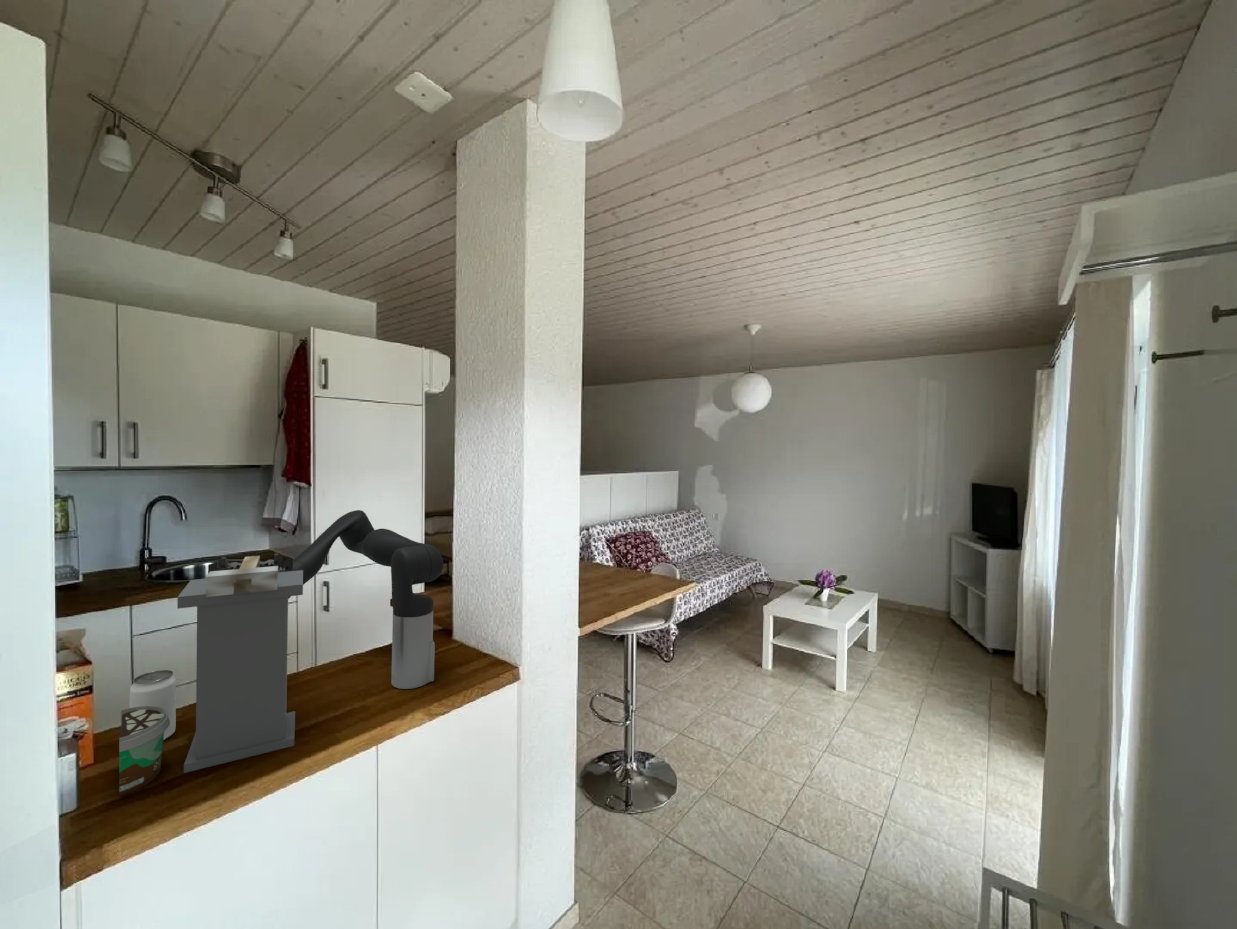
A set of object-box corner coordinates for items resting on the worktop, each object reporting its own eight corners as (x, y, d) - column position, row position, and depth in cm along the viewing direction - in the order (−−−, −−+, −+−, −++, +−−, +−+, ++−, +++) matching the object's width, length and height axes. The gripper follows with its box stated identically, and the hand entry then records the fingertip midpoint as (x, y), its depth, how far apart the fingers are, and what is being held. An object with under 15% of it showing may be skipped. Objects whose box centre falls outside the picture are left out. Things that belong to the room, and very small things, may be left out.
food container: (171, 784, 83) (171, 725, 82) (118, 801, 78) (119, 739, 78) (168, 750, 91) (168, 697, 91) (120, 764, 87) (121, 708, 87)
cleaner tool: (281, 565, 106) (281, 549, 106) (277, 589, 90) (277, 570, 90) (222, 570, 101) (222, 553, 101) (206, 597, 84) (206, 576, 84)
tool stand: (300, 714, 104) (303, 570, 104) (300, 744, 94) (302, 584, 93) (189, 739, 95) (191, 579, 94) (176, 775, 85) (177, 597, 84)
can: (147, 750, 91) (147, 686, 91) (120, 744, 92) (120, 681, 92) (184, 730, 97) (184, 671, 97) (158, 726, 99) (158, 667, 98)
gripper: (292, 594, 113) (292, 574, 101) (213, 603, 106) (202, 582, 94) (293, 563, 116) (292, 539, 104) (216, 569, 109) (206, 544, 96)
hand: (250, 559), depth 99 cm, fingers open, 8 cm apart
